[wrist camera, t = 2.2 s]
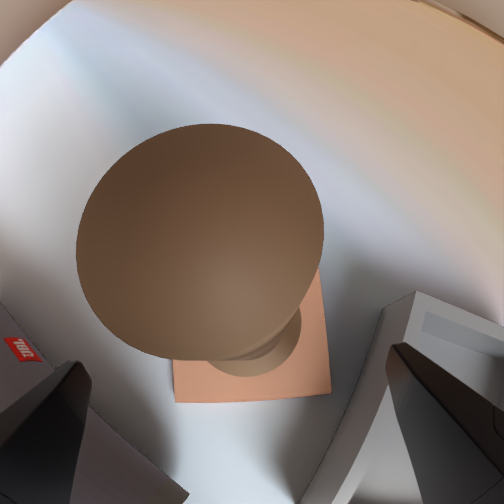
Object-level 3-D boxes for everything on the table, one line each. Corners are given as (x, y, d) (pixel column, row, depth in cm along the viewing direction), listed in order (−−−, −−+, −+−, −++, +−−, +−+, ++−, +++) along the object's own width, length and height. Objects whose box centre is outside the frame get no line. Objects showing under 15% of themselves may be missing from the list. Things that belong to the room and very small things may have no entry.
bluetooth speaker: (212, 460, 16) (160, 540, 6) (146, 539, 13) (81, 611, 4) (5, 268, 21) (-76, 224, 11) (-32, 347, 18) (-111, 326, 9)
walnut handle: (275, 391, 16) (294, 482, 3) (179, 349, 17) (0, 308, 4) (314, 296, 18) (405, 146, 5) (221, 259, 19) (143, 78, 6)
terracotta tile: (329, 391, 17) (331, 392, 16) (179, 400, 17) (175, 402, 16) (313, 248, 20) (315, 244, 19) (174, 260, 20) (171, 256, 19)
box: (440, 525, 12) (472, 550, 7) (296, 506, 14) (303, 545, 9) (508, 355, 16) (552, 348, 11) (382, 308, 18) (416, 290, 14)
